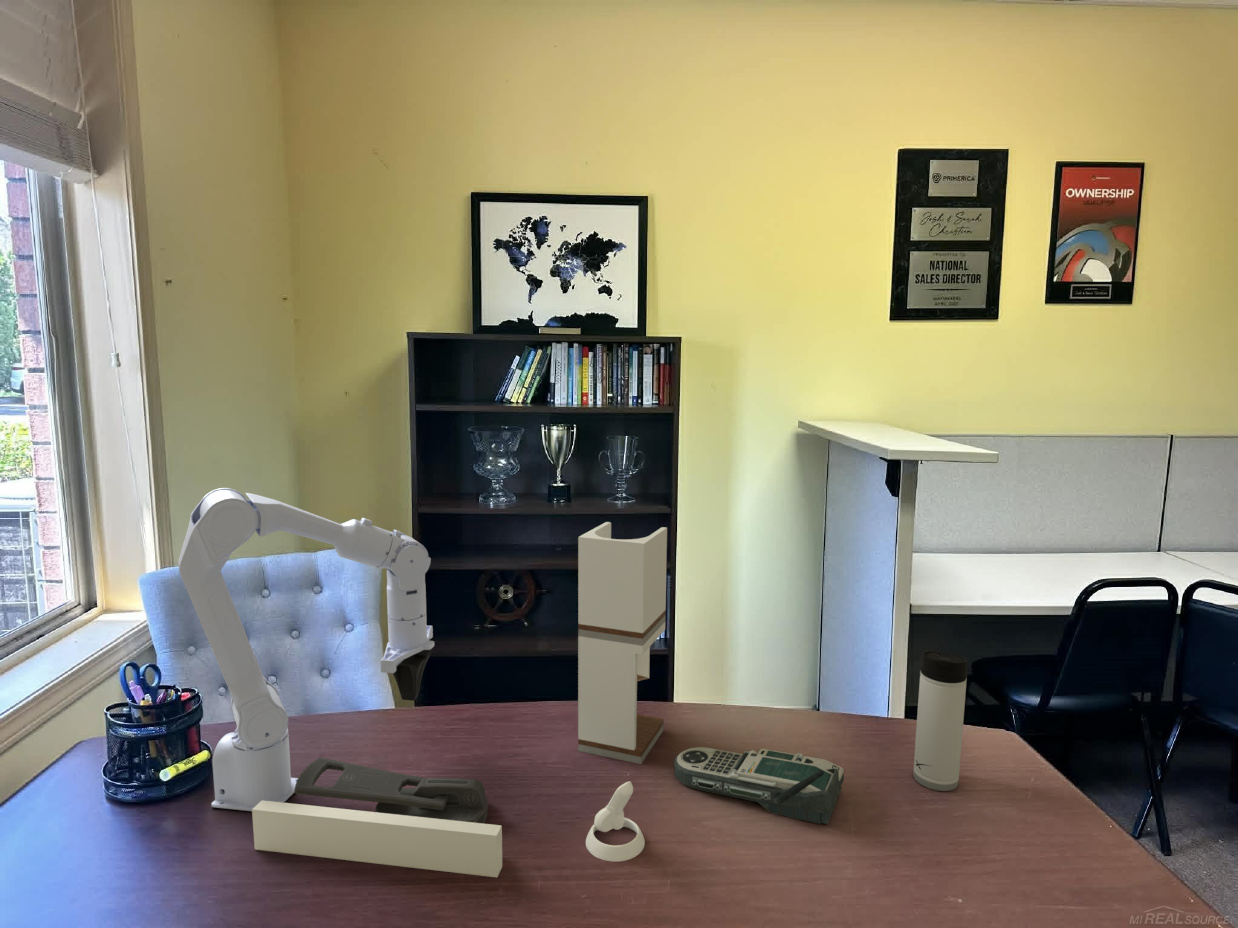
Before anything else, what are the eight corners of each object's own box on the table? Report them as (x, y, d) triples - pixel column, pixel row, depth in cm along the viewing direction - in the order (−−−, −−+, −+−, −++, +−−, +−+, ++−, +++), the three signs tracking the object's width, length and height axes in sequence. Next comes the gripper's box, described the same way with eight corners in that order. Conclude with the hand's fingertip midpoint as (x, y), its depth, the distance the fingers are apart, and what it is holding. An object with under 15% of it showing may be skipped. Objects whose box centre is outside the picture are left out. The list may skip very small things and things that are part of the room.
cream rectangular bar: (254, 849, 96) (252, 809, 95) (273, 829, 100) (271, 791, 99) (497, 877, 91) (496, 835, 91) (507, 855, 95) (506, 815, 95)
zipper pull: (315, 753, 107) (491, 756, 106) (317, 796, 108) (492, 800, 107) (286, 789, 98) (478, 792, 98) (289, 836, 99) (479, 840, 99)
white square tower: (641, 763, 117) (644, 543, 112) (578, 750, 121) (578, 536, 116) (663, 730, 128) (667, 527, 123) (605, 719, 131) (606, 521, 126)
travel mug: (912, 787, 111) (921, 658, 108) (913, 765, 117) (922, 642, 114) (959, 797, 109) (969, 665, 106) (957, 773, 115) (967, 648, 112)
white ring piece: (633, 852, 88) (595, 803, 91) (605, 888, 96) (571, 842, 99) (675, 813, 93) (637, 768, 96) (645, 850, 101) (611, 808, 104)
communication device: (692, 753, 122) (692, 701, 120) (844, 791, 111) (846, 734, 110) (661, 790, 111) (662, 733, 110) (827, 836, 100) (829, 774, 99)
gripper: (412, 632, 108) (414, 722, 110) (449, 600, 122) (451, 680, 124) (365, 629, 109) (369, 718, 111) (408, 598, 123) (410, 677, 125)
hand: (409, 698), depth 118 cm, fingers closed
